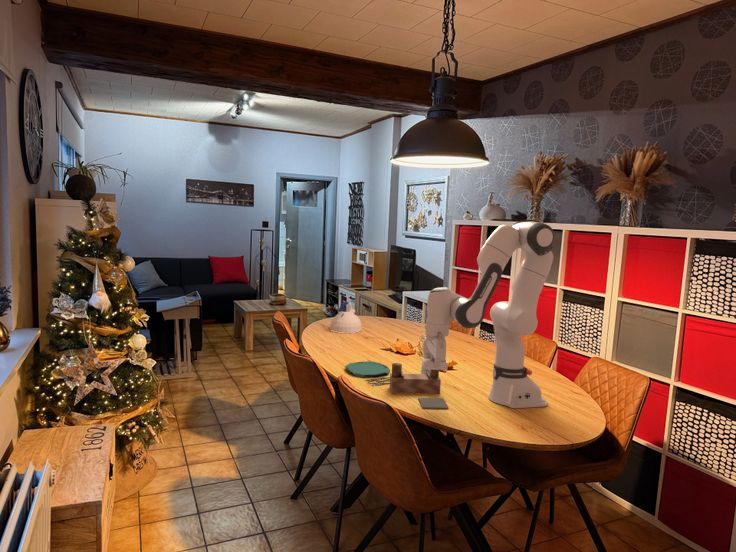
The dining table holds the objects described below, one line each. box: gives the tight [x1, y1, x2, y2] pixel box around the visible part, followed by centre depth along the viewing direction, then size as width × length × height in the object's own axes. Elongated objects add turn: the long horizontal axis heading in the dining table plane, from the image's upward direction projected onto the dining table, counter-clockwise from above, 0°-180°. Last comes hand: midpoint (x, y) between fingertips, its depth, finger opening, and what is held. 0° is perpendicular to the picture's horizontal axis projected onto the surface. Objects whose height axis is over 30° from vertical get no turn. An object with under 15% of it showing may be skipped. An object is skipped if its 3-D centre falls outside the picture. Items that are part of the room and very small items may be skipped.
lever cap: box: [421, 357, 449, 371], centre depth 192 cm, size 9×4×4 cm, turn 93°
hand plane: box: [389, 362, 442, 395], centre depth 208 cm, size 20×7×12 cm, turn 93°
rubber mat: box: [417, 397, 450, 410], centre depth 194 cm, size 10×10×1 cm
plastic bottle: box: [420, 338, 431, 374], centre depth 227 cm, size 6×7×20 cm
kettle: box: [329, 301, 363, 334], centre depth 314 cm, size 20×21×18 cm
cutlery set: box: [345, 360, 391, 387], centre depth 228 cm, size 20×30×2 cm, turn 23°
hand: (434, 365), depth 192 cm, fingers closed on lever cap, 4 cm apart
